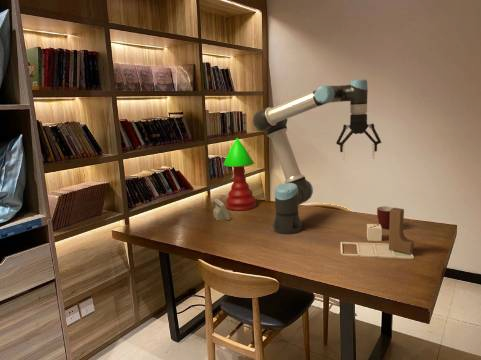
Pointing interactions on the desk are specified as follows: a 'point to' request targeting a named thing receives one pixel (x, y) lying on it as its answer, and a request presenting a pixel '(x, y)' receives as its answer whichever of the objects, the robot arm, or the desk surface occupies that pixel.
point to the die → (374, 232)
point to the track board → (376, 251)
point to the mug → (384, 216)
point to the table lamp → (239, 178)
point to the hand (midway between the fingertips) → (358, 158)
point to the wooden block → (398, 233)
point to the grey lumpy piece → (220, 210)
